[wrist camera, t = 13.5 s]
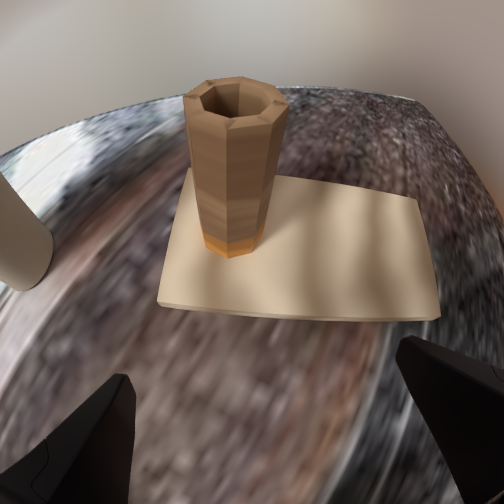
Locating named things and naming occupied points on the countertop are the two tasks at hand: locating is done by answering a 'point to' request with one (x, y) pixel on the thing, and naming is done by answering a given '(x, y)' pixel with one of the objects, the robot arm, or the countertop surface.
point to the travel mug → (21, 241)
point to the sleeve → (234, 158)
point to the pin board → (309, 258)
